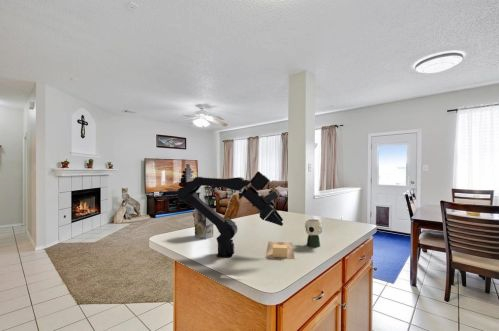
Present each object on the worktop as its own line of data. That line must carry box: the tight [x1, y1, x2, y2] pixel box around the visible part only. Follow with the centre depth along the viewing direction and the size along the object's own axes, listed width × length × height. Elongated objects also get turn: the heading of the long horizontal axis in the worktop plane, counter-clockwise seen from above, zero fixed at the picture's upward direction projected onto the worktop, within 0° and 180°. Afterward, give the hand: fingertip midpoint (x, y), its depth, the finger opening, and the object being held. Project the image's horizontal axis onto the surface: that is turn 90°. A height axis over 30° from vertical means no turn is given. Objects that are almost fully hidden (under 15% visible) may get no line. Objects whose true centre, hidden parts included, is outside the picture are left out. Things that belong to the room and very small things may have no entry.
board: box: [265, 241, 296, 260], centre depth 104 cm, size 12×22×1 cm, turn 172°
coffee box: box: [194, 207, 214, 240], centre depth 129 cm, size 9×6×16 cm
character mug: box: [304, 218, 323, 248], centre depth 110 cm, size 11×7×13 cm, turn 30°
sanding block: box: [273, 245, 287, 258], centre depth 96 cm, size 6×4×4 cm, turn 82°
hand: (282, 222), depth 96 cm, fingers open, 9 cm apart
